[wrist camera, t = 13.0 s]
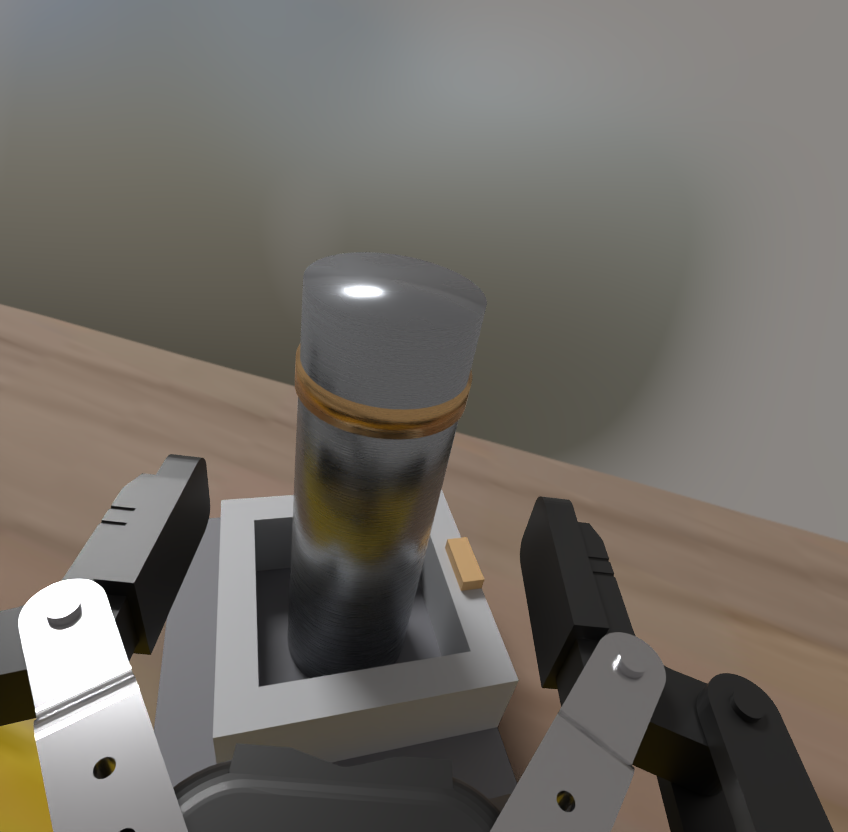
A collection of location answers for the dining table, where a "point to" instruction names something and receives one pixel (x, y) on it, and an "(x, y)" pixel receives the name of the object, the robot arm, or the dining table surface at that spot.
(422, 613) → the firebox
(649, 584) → the dining table surface
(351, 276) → the metal canister
